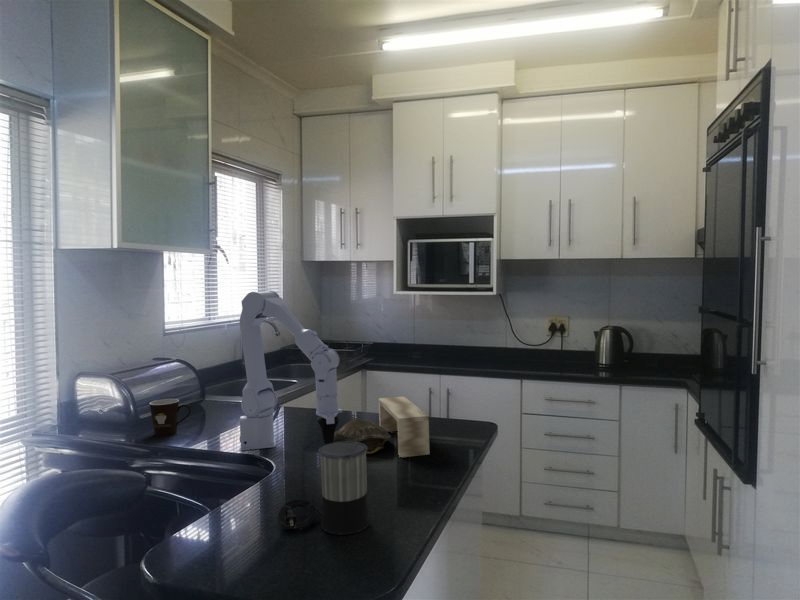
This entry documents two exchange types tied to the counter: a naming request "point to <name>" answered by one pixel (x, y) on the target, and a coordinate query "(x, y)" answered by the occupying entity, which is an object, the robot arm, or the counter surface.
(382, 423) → the birch shelf
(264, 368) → the robot arm
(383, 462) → the counter surface
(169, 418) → the coffee mug
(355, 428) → the turtle shell
